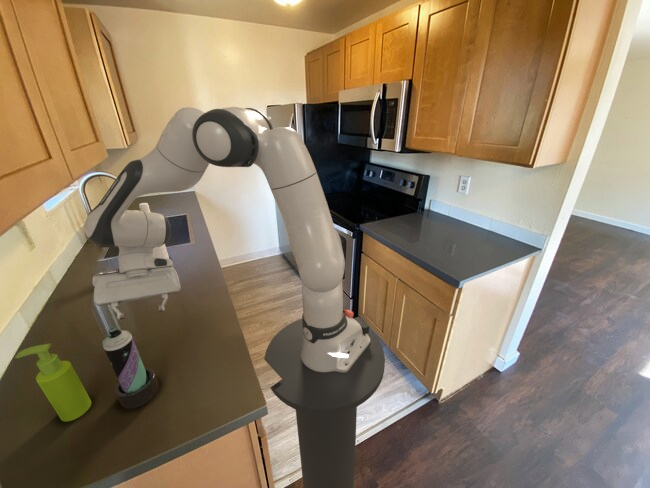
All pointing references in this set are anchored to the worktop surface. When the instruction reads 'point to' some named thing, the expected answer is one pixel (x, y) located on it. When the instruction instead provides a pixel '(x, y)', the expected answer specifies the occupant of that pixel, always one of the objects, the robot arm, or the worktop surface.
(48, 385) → the soap dispenser
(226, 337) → the worktop surface
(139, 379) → the spray can
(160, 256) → the bottle
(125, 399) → the dark round bowl
